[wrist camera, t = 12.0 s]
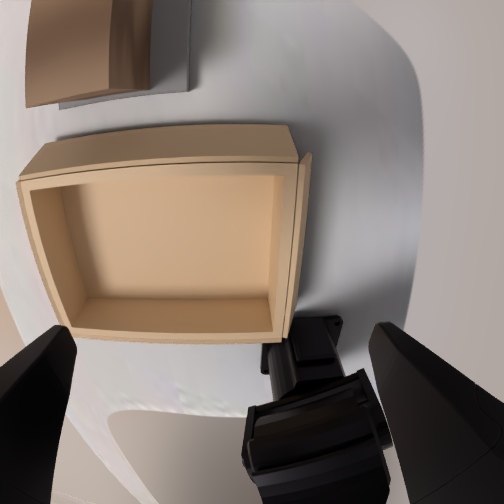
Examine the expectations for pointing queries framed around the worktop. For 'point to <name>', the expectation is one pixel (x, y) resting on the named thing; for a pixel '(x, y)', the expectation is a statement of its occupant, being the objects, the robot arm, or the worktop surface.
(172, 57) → the mat
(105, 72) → the block
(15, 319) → the worktop surface
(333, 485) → the robot arm
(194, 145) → the carton
